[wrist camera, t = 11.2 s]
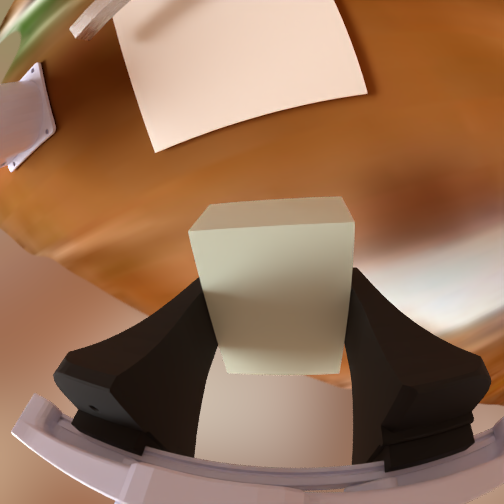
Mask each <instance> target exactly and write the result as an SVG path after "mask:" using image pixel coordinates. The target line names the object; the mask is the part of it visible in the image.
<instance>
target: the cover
mask: <svg viewBox="0 0 504 504" xmlns="http://www.w3.org/2000/svg"><path fill="white" fill-rule="evenodd" d="M188 234H189V238H190V242H191V246H192V250H193V254H194V258H195V262H196V266H197V270H198V274H199V278H200V282H201V285H202V289H203V293H204V297H205V300H206V304H207V307H208V311H209V315H210V318H211V322H212V325H213V328H214V332H215V335H216V339H217V342H218V345H219V348H220V351H221V355H222V358H223V361H224V364H225V368H226V371H227V373H232V374H251V375H318V374H338V373H339V372H340V366H341V360H342V354H343V348H344V341H345V334H346V327H347V319H348V311H349V302H350V292H351V281H352V269H353V254H354V235H355V221H354V219H353V217H352V216H351V214H350V212H349V210H348V208H347V206H346V204H345V202H344V200H343V198H342V197H341V196H334V197H309V198H290V199H273V200H258V201H245V202H233V203H221V204H210V205H209V206H208V207H207V209H206V210H205V211H204V212H203V213H202V215H201V216H200V217H199V218H198V220H197V221H196V222H195V223H194V224H193V226H192V227H191V228H190V229H189V231H188Z"/></svg>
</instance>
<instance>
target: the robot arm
mask: <svg viewBox="0 0 504 504" xmlns="http://www.w3.org/2000/svg"><path fill="white" fill-rule="evenodd" d="M48 131H49V133H48ZM55 131H56V125H55V122H54V118H53V115H52V111H51V107H50V103H49V99H48V95H47V91H46V86H45V82H44V77H43V72H42V66H41V63H40V62H38V63H35V64H34V65H33V67H32V68H31V69H30V70H29V71H28V72H27V73H26V74H25V75H24V76H23V78H22V79H21V80H20V81H19V82H12V83H5V84H0V168H2V167H4V166H6V165H8V168H9V171H10V172H13V171H15V169H16V168H17V167H18V166H19V165H20V164H21V163H22V162H23V161H24V160H25V159H26V158H27V157H28V156H29V155H30V154H32V153H33V152H34V151H35V150H36V149H37V148H38V147H39V146H40V145H41V144H42V143H43V142H45V141H46V140H47V139H48V138H49V137H50V136H52V135H53V134H54V133H55ZM344 343H345V348H346V353H347V358H348V363H349V368H350V373H351V381H352V395H353V454H352V465H347V466H337V467H319V468H274V467H258V466H246V465H236V464H228V463H220V462H214V461H208V460H202V459H197V458H194V454H195V445H196V434H197V428H198V422H199V415H200V409H201V403H202V398H203V394H204V389H205V384H206V380H207V376H208V373H209V369H210V367H211V364H212V361H213V358H214V355H215V352H216V349H217V346H218V342H217V339H216V335H215V332H214V328H213V325H212V322H211V318H210V315H209V311H208V307H207V304H206V300H205V297H204V293H203V289H202V285H201V282H200V278H197V279H196V280H195V281H194V282H193V283H191V284H190V285H189V286H188V287H187V288H186V289H184V290H183V291H182V292H181V293H180V294H178V295H177V296H176V297H175V298H174V299H172V300H171V301H170V302H168V303H167V304H166V305H164V306H163V307H162V308H160V309H159V310H158V311H157V312H155V313H154V314H152V315H151V316H149V317H148V318H146V319H145V320H143V321H141V322H140V323H138V324H136V325H135V326H133V327H131V328H129V329H127V330H125V331H124V332H121V333H119V334H118V335H115V336H113V337H111V338H109V339H107V340H104V341H102V342H99V343H96V344H93V345H91V346H87V347H85V348H81V349H78V350H74V351H70V352H69V353H68V354H67V355H66V356H65V358H64V359H63V361H62V362H61V364H60V365H59V367H58V369H57V370H56V371H55V373H54V374H53V376H54V381H55V383H56V385H57V386H58V387H59V389H60V390H61V391H62V392H63V393H64V395H65V396H66V397H67V398H68V399H69V400H70V401H71V402H72V403H73V404H74V405H75V406H76V407H77V408H78V411H77V413H76V415H75V417H74V419H73V418H71V417H69V416H67V415H65V414H63V413H62V412H61V411H60V410H59V408H57V407H56V406H55V405H54V404H53V403H52V402H51V401H49V400H47V399H46V398H44V397H42V396H40V395H38V394H36V393H35V394H33V396H32V398H31V399H30V401H29V403H28V404H27V406H26V407H25V409H24V411H23V412H22V414H21V416H20V417H19V419H18V421H17V422H16V424H15V426H14V428H13V430H12V431H11V432H12V434H13V435H14V436H15V437H17V438H18V439H19V440H20V441H21V442H22V443H24V444H25V445H26V446H27V447H29V448H30V449H31V450H33V451H34V452H36V453H37V454H38V455H39V456H41V457H42V458H44V459H45V460H46V461H48V462H49V463H51V464H52V465H53V466H55V467H56V468H58V469H60V470H61V471H63V472H64V473H66V474H67V475H69V476H71V477H72V478H74V479H75V480H77V481H79V482H81V483H82V484H84V485H86V486H88V487H90V488H91V489H93V490H95V491H97V492H99V493H101V494H103V495H105V496H107V497H109V498H111V499H113V500H115V503H114V504H466V503H468V502H470V501H472V500H474V499H477V498H479V497H480V496H483V495H485V494H486V493H488V492H490V491H492V490H494V489H496V488H497V487H499V486H501V485H502V484H504V417H502V418H501V419H500V420H499V421H498V422H497V423H496V424H495V425H494V427H493V428H491V429H488V430H486V431H484V432H481V433H479V434H476V435H474V436H473V432H472V429H471V425H470V424H471V423H472V422H473V421H474V417H473V414H472V410H473V409H474V408H475V407H476V406H477V404H478V403H479V402H480V401H481V400H482V398H483V397H484V396H485V394H486V393H487V391H488V390H489V387H490V384H491V378H490V375H489V373H488V371H487V369H486V366H485V364H484V362H483V360H482V358H481V356H478V355H476V354H473V353H471V352H468V351H466V350H463V349H461V348H458V347H456V346H454V345H452V344H450V343H448V342H446V341H444V340H442V339H440V338H439V337H437V336H435V335H433V334H432V333H430V332H429V331H427V330H425V329H424V328H422V327H421V326H419V325H418V324H416V323H415V322H414V321H412V320H411V319H410V318H408V317H407V316H406V315H404V314H403V313H402V312H401V311H399V310H398V309H397V308H396V307H395V306H394V305H393V304H392V303H390V302H389V301H388V300H387V299H386V298H385V297H384V296H383V295H382V294H381V293H380V292H379V291H378V290H377V289H376V288H375V287H374V286H373V285H372V284H371V282H370V281H369V280H368V279H367V278H366V277H365V276H364V275H363V274H362V273H361V272H360V270H359V269H358V268H353V269H352V281H351V292H350V302H349V311H348V319H347V327H346V334H345V341H344ZM341 488H345V489H344V492H324V493H323V492H319V493H318V492H304V490H328V489H341Z"/></svg>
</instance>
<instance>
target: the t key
mask: <svg viewBox="0 0 504 504" xmlns="http://www.w3.org/2000/svg"><path fill="white" fill-rule="evenodd" d="M129 1H131V0H95V1H94V2H93V3H92V4H91V5H90V6H89V7H88V8H87V9H86V11H85V12H84V13H83V14H82V15H81V16H80V17H79V18H78V19H77V20H76V22H75V23H74V24H73V25H72V26H71V27H70V31H71V32H72V34H73V35H74V37H75V38H76V39H83V40H89V41H90V40H91V39H92V37H93V36H94V35H95V34H96V33H97V32H98V31H99V30H100V29H101V28H102V27H103V26H104V25H105V24H106V23H107V22H108V21H109V20H110V19H111V18H112V17H113V16H114V15H115V14H116V13H117V12H118V11H119V10H120V9H122V8H123V7H124V6H125V5H126V4H127V3H128V2H129Z"/></svg>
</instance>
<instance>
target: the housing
mask: <svg viewBox="0 0 504 504" xmlns="http://www.w3.org/2000/svg"><path fill="white" fill-rule="evenodd" d="M113 20H114V24H115V28H116V32H117V36H118V39H119V43H120V46H121V50H122V53H123V57H124V60H125V64H126V67H127V70H128V74H129V77H130V80H131V83H132V86H133V90H134V93H135V96H136V99H137V102H138V105H139V108H140V111H141V114H142V117H143V120H144V123H145V126H146V128H147V131H148V134H149V137H150V140H151V143H152V145H153V148H154V151H155V153H156V152H159V151H162V150H164V149H167V148H169V147H171V146H174V145H176V144H179V143H181V142H184V141H187V140H189V139H192V138H194V137H197V136H200V135H203V134H205V133H208V132H211V131H214V130H217V129H220V128H223V127H226V126H229V125H232V124H235V123H238V122H242V121H245V120H248V119H252V118H255V117H259V116H262V115H266V114H270V113H273V112H277V111H281V110H285V109H289V108H294V107H298V106H302V105H307V104H311V103H316V102H321V101H326V100H332V99H337V98H343V97H349V96H356V95H363V94H368V93H367V89H366V85H365V82H364V79H363V75H362V72H361V69H360V66H359V63H358V60H357V57H356V54H355V51H354V48H353V46H352V43H351V40H350V38H349V35H348V32H347V30H346V27H345V25H344V22H343V20H342V18H341V15H340V13H339V11H338V8H337V6H336V4H335V2H334V0H131V1H129V2H128V3H127V4H126V5H125V6H124V7H123V8H122V9H120V10H119V11H118V12H117V13H116V14H115V15H114V16H113Z"/></svg>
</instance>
